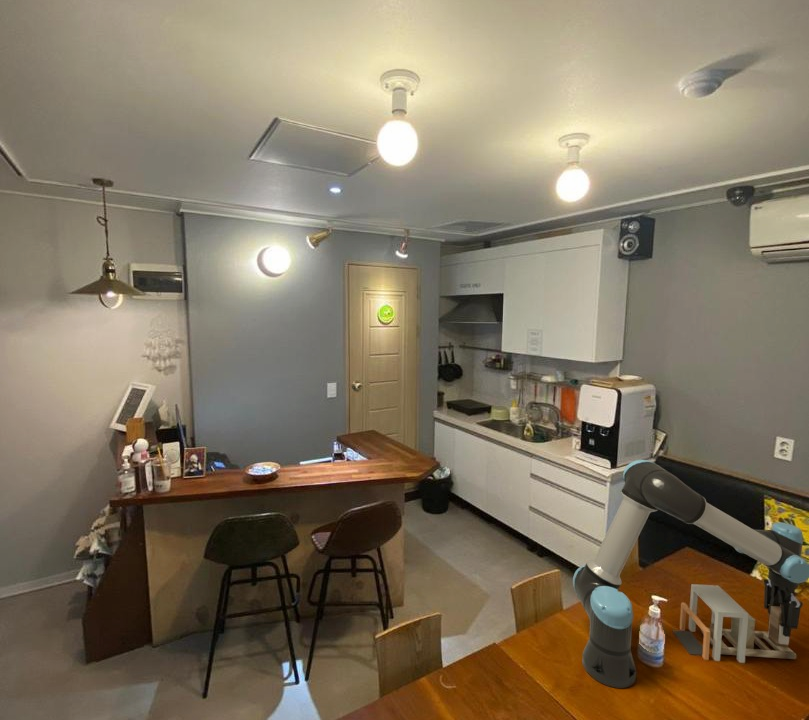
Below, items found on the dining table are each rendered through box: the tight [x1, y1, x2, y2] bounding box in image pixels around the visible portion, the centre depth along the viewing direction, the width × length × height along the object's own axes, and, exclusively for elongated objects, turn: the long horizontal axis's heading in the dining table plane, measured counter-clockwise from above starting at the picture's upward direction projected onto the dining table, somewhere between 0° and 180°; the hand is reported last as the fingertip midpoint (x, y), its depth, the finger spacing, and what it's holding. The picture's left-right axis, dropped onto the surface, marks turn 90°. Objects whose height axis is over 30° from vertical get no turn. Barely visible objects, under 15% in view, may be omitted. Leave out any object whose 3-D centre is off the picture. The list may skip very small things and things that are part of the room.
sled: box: [700, 605, 797, 660], centre depth 145 cm, size 23×10×13 cm, turn 85°
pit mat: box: [671, 630, 710, 657], centre depth 147 cm, size 6×11×1 cm, turn 175°
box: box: [730, 613, 756, 649], centre depth 145 cm, size 5×4×11 cm
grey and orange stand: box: [679, 583, 749, 664], centre depth 146 cm, size 12×15×16 cm
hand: (778, 638), depth 144 cm, fingers closed on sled, 3 cm apart
